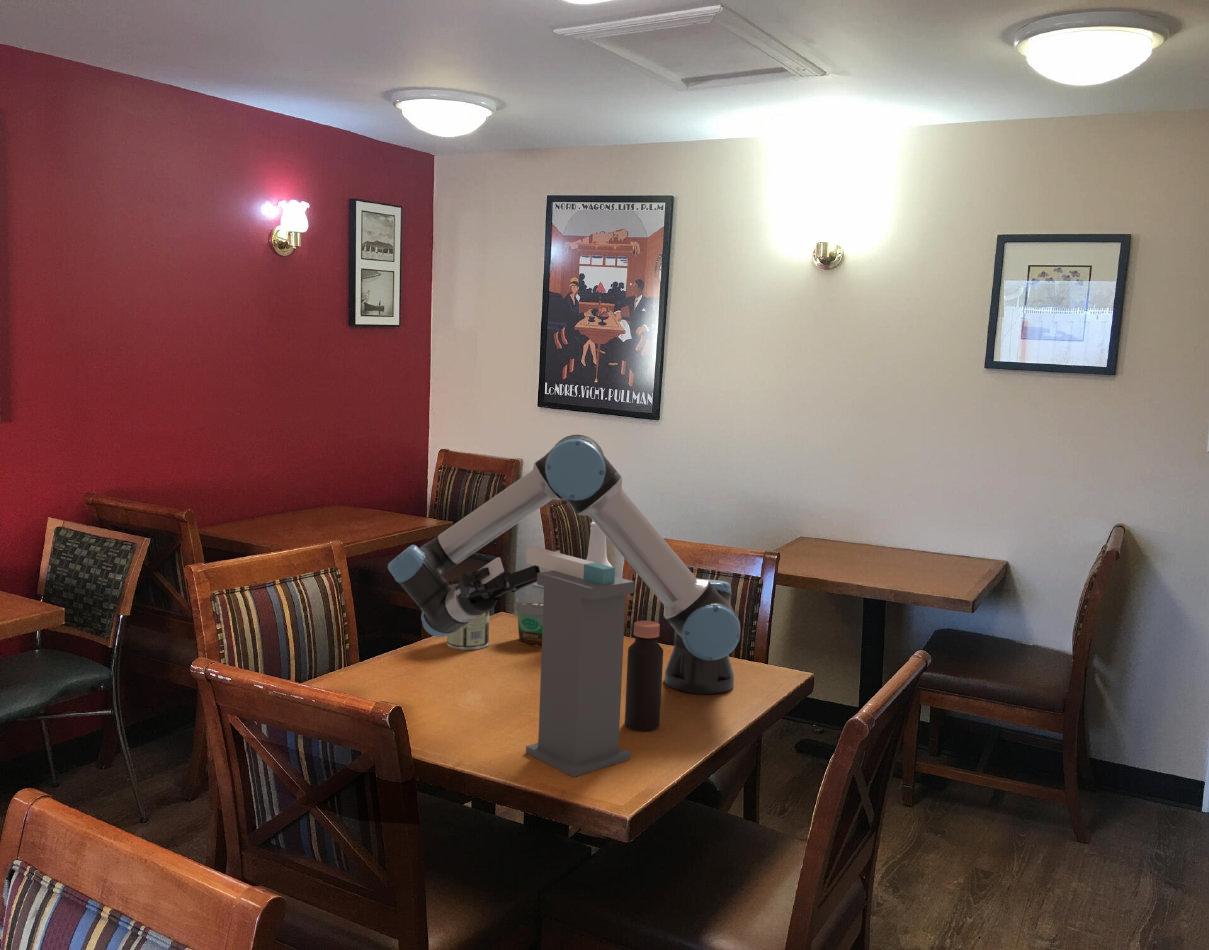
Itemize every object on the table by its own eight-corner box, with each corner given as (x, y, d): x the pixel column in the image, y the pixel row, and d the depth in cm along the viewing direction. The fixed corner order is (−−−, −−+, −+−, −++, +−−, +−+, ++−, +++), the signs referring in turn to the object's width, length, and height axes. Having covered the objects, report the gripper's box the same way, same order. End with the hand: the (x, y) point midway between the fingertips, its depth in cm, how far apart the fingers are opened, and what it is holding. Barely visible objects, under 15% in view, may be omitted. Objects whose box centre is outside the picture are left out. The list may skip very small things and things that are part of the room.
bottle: (633, 733, 188) (638, 629, 186) (618, 721, 195) (623, 620, 192) (665, 729, 191) (671, 627, 189) (650, 717, 197) (655, 618, 195)
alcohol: (571, 638, 252) (576, 519, 249) (605, 636, 254) (610, 519, 251) (580, 647, 244) (585, 525, 240) (615, 646, 246) (620, 525, 243)
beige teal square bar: (526, 562, 183) (526, 548, 183) (537, 561, 185) (537, 547, 185) (602, 584, 168) (603, 569, 167) (614, 582, 169) (615, 567, 169)
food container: (507, 644, 244) (509, 604, 243) (514, 637, 250) (515, 598, 249) (557, 649, 242) (558, 608, 241) (562, 642, 248) (564, 602, 247)
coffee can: (464, 636, 250) (466, 580, 248) (497, 643, 244) (499, 586, 243) (436, 644, 241) (438, 587, 239) (470, 652, 236) (471, 594, 234)
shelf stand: (524, 751, 177) (530, 573, 174) (580, 735, 186) (587, 566, 182) (575, 778, 167) (583, 589, 164) (632, 760, 176) (640, 580, 172)
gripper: (528, 607, 205) (588, 572, 191) (422, 625, 189) (479, 588, 174) (518, 573, 207) (577, 535, 193) (412, 587, 191) (468, 547, 176)
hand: (531, 560), depth 183 cm, fingers open, 13 cm apart
